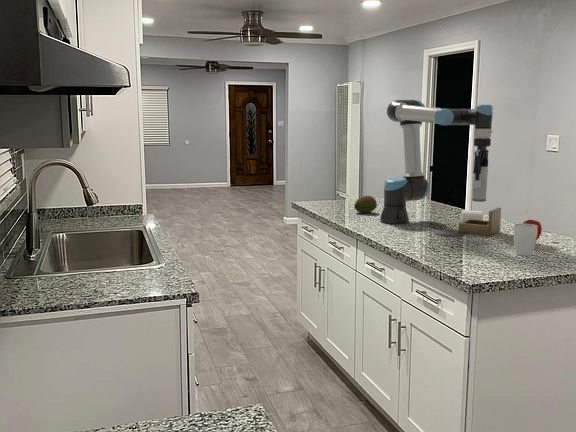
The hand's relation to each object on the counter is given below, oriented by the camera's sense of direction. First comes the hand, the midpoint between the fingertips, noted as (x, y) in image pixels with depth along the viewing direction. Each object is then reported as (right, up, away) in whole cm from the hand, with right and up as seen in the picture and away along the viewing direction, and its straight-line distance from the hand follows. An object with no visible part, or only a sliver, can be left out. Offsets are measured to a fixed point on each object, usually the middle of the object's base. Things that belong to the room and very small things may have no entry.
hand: (479, 186), depth 277 cm
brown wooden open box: (0, -22, +4) cm, 23 cm away
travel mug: (0, -7, +1) cm, 7 cm away
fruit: (-46, -13, +63) cm, 79 cm away
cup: (+5, -30, -41) cm, 51 cm away
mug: (+3, -19, +22) cm, 30 cm away
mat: (-14, -23, +1) cm, 27 cm away
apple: (+16, -27, -21) cm, 37 cm away
